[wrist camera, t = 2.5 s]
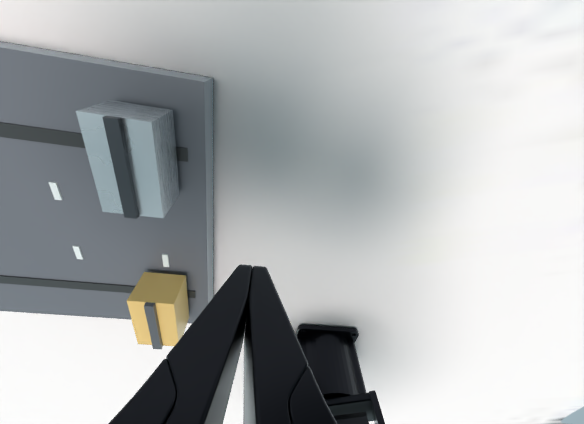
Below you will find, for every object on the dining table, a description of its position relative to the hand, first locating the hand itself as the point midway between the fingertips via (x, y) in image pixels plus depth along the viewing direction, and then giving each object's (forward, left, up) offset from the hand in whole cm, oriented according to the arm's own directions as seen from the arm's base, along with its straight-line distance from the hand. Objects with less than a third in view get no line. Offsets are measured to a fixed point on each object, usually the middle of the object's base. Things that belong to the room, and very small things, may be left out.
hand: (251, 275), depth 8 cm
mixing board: (+13, +6, -11) cm, 18 cm away
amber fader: (+7, +12, -8) cm, 16 cm away
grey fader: (+6, 0, -8) cm, 11 cm away
